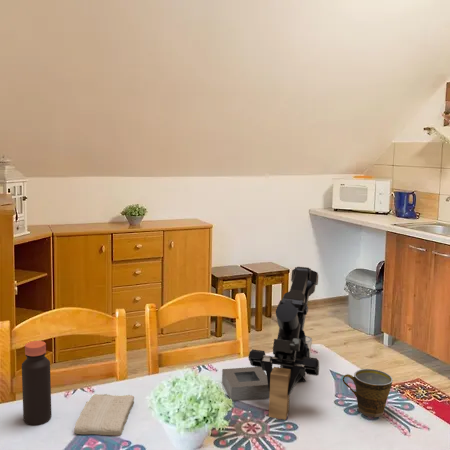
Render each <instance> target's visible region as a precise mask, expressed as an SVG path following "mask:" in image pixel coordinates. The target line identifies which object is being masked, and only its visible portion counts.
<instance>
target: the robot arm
mask: <svg viewBox="0 0 450 450" xmlns="http://www.w3.org/2000/svg"><path fill="white" fill-rule="evenodd" d="M290 278H291V279H290V281H291V285H290V289H289V291H288V292H287V291H286V292H285V293H284V294H283V297H282V299H280V301H279V302H278V305H277V306H276V309H275V318H276V321H277V322H276V323H277V325H278V332H277V333H278V334H277V337H276V338H274V339H273V347H272V355H267V354H266V351H265V350H261V349H251V350H250V351H249V354H248V361H249V363H250V366H251V367H262V370H264V372H265V373H266V375H267V381H268V389H269V392H270V374H271V372H272V370H273V368H274V367H273V365H277V366H280V367H279V368H286V369H291V378H290V383H289V387H288V395H290V396H291V393H292V391H293V390H294V388H295V386H296V384H297V383H301V382H303V383H304V382H306V381H307V379H306V375H309V376H310V375H311V376H319V374H320V361H319V359H318V358H317V357H310V356H311V351H310V352H309V348H308V344H306V336H307V335H306V333H305V330H304V329H305V323H306V322H305V321H306V317H307V314H308V313H309V306H308V303H309V298H310V296H311V295H313V294H314V293H315V291H316V286H318V284H319V274H318V272H317V271H315V270H312V268H310V267H304V266H296V267H294V268H293V269H292V270H291V277H290ZM273 355H274V356H273Z"/></svg>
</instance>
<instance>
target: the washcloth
mask: <svg viewBox="0 0 450 450" xmlns="http://www.w3.org/2000/svg"><path fill="white" fill-rule="evenodd" d="M134 403H135V396H134V395H132V394H131V395H130V394H127V395H125V394H124V395H116V394H115V395H113V394H107V393H106V394H105V393H104V394H103V393H102V394H101V393H99V394H97V393H96V394H94V395H92V396H91V397H90V399H89V400H88V401H85V405H84V407H83V408H82V410H81V411H80V414H79V416H78V417H77V420H76V421H75V425H74V429H73V433H74V434H76V435H88V436H89V435H100V436H121V435H122V434H123V431H124V429H125V425H126V423H127V420H128V418H129V415H130V411H131V410H132V407H133V405H134Z"/></svg>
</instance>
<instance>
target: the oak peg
mask: <svg viewBox="0 0 450 450" xmlns="http://www.w3.org/2000/svg"><path fill="white" fill-rule="evenodd" d="M272 368H273V370H272V372H271V374H270V396H269V398H268V400H269V401H268V418H272V419H279V420H287V418H288V415H289V412H290V411H289V410H290V396H291V394H290V395H288V387H289V383H290V378H291V369H286V368H280V367H277V366H273V367H272Z"/></svg>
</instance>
